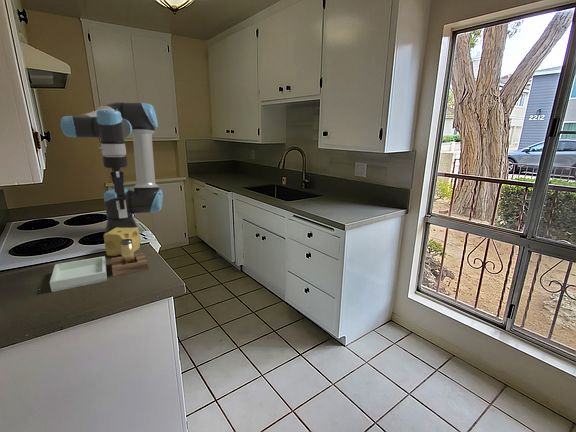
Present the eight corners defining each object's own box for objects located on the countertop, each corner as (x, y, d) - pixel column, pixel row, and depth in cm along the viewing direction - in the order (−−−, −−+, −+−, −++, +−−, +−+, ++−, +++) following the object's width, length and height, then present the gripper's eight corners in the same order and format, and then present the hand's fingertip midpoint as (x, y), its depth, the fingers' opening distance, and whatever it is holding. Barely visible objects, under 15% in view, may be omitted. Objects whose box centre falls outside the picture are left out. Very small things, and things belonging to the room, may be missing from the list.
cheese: (129, 256, 130) (126, 234, 127) (104, 256, 130) (101, 234, 127) (141, 247, 140) (139, 227, 137) (118, 247, 140) (115, 226, 137)
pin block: (111, 264, 123) (111, 258, 122) (144, 258, 129) (143, 252, 128) (113, 276, 113) (112, 270, 112) (148, 269, 119) (147, 263, 118)
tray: (57, 272, 115) (55, 264, 114) (106, 264, 123) (104, 256, 122) (51, 292, 102) (49, 282, 101) (107, 281, 109) (105, 272, 108)
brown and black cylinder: (123, 265, 122) (120, 240, 118) (134, 263, 123) (131, 238, 120) (124, 269, 118) (120, 243, 115) (135, 267, 120) (132, 241, 117)
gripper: (102, 153, 117) (109, 207, 123) (102, 159, 97) (112, 223, 102) (124, 153, 121) (130, 205, 127) (129, 158, 100) (136, 220, 106)
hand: (122, 213), depth 115 cm, fingers open, 13 cm apart
